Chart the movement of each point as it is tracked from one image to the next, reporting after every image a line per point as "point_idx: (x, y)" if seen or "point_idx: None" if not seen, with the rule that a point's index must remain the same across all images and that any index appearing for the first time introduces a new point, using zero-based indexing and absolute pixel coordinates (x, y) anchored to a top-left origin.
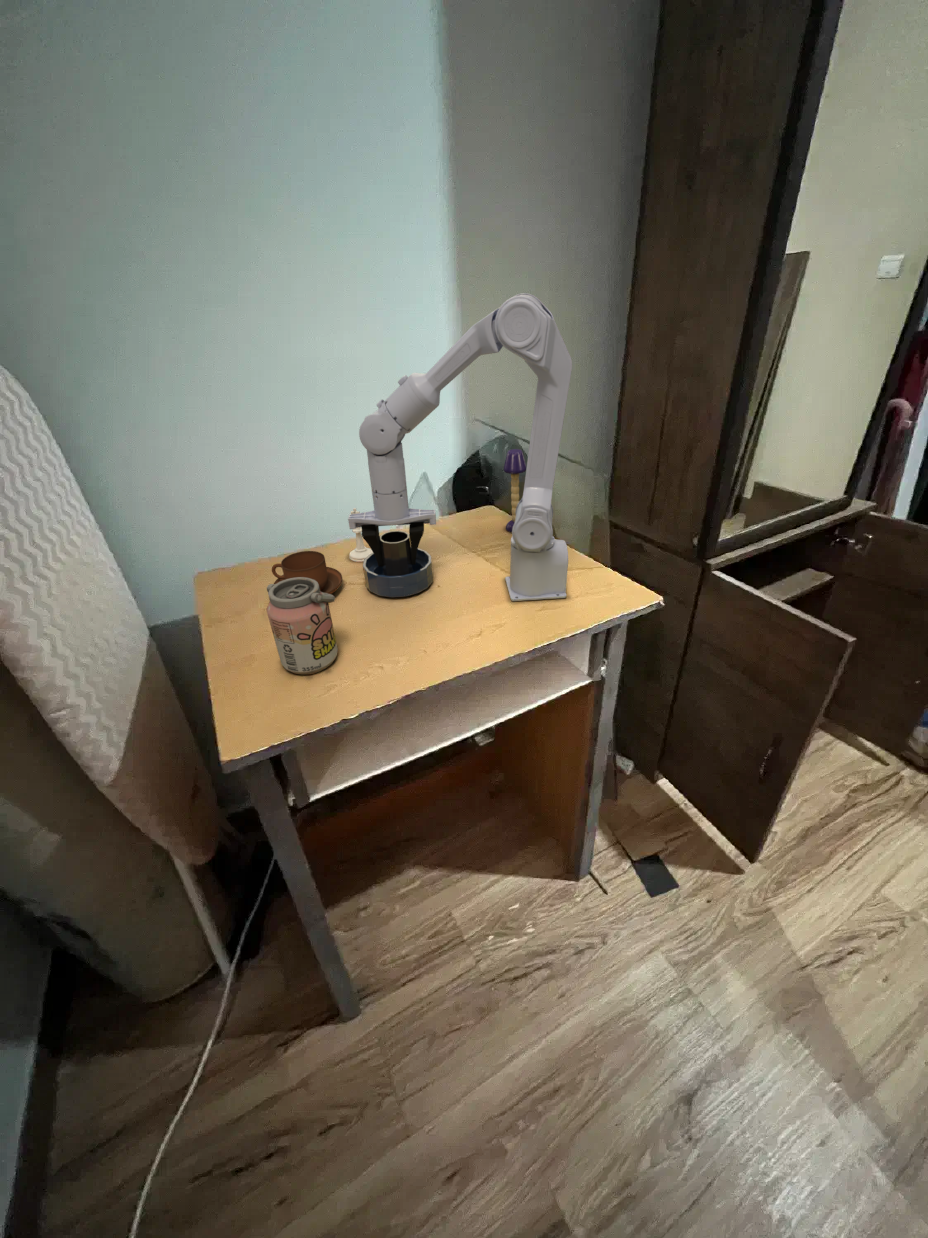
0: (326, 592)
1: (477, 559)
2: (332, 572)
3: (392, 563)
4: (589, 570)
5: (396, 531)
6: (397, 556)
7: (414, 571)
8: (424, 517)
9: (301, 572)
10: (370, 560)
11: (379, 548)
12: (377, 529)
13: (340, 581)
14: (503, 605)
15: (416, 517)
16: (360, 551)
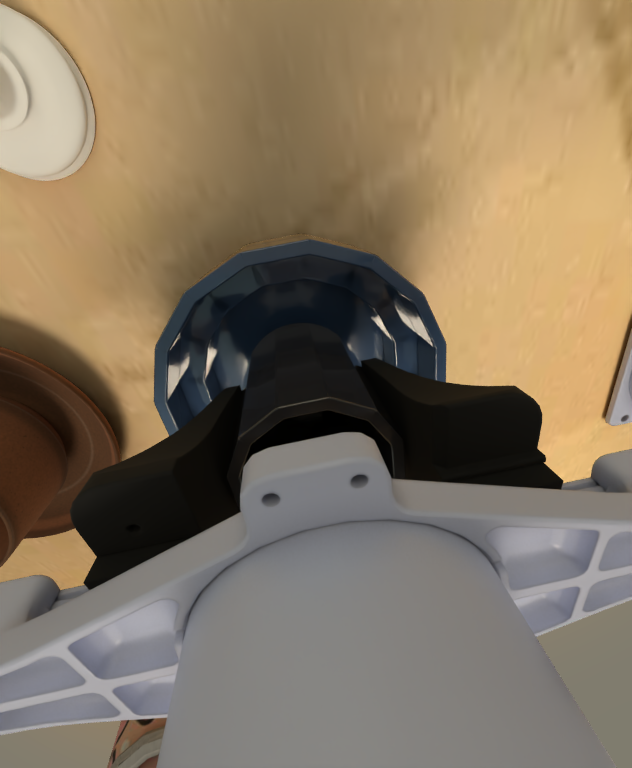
0: (85, 451)
1: (595, 132)
2: (19, 360)
3: None
4: None
5: (315, 410)
6: None
7: (342, 294)
8: (595, 589)
9: None
10: (172, 365)
11: None
12: (215, 524)
13: (105, 429)
14: (577, 435)
15: (542, 627)
16: (8, 124)
